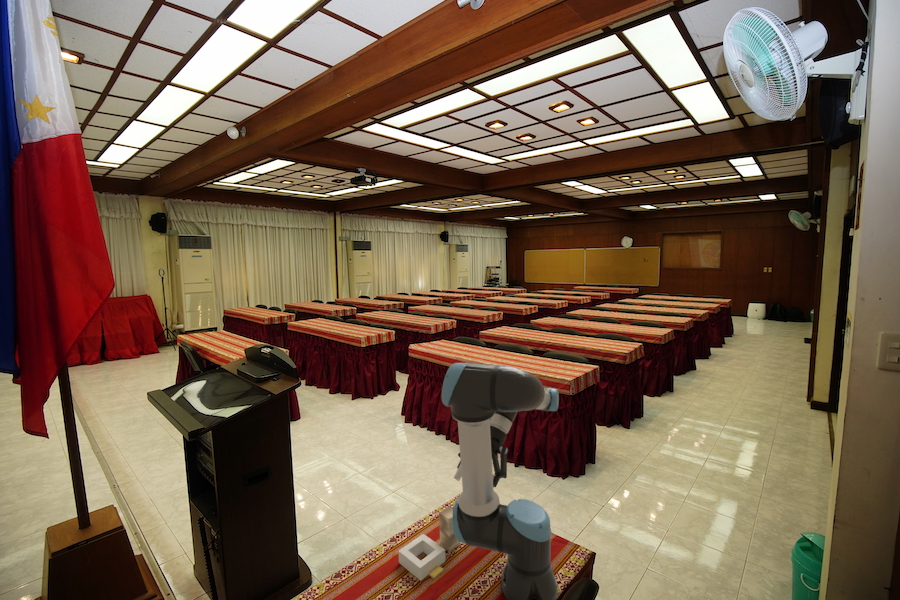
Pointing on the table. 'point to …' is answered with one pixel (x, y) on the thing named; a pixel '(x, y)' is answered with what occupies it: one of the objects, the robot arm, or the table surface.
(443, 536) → the beech peg
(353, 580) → the table surface
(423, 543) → the socket block
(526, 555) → the robot arm
